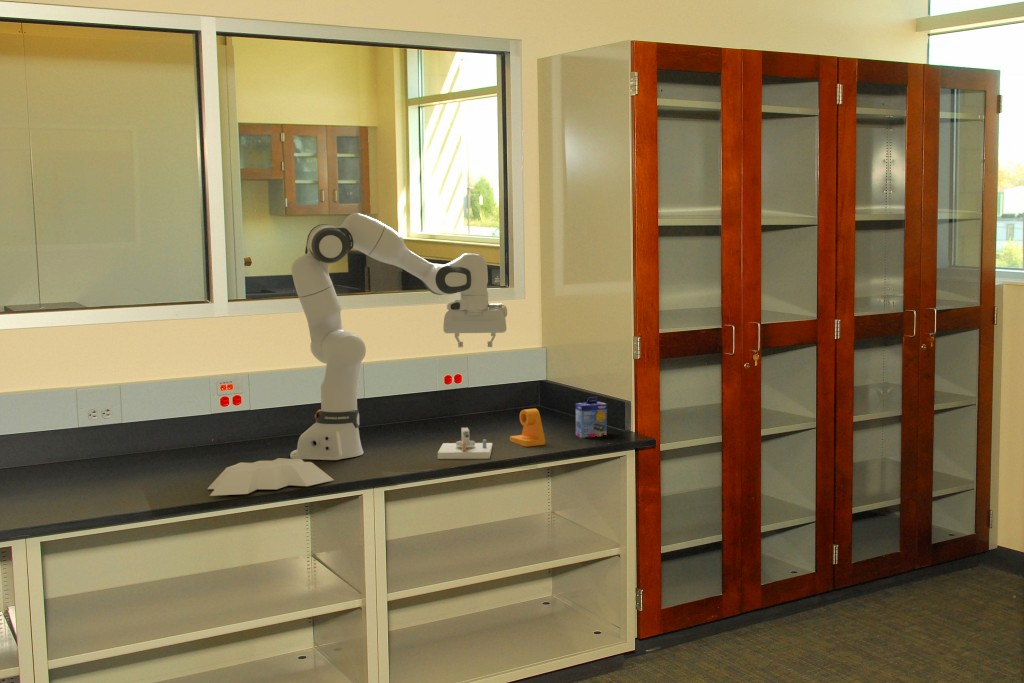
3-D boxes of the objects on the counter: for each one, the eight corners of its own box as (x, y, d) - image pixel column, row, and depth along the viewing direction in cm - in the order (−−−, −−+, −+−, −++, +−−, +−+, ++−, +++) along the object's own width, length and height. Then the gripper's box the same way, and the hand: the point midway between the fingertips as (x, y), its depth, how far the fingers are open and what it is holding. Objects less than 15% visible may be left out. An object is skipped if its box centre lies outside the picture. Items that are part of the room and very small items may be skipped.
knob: (455, 445, 327) (455, 427, 327) (474, 444, 328) (473, 427, 327) (457, 450, 317) (457, 433, 317) (476, 450, 318) (476, 432, 317)
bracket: (508, 444, 340) (508, 408, 339) (527, 442, 344) (526, 406, 343) (526, 449, 331) (525, 412, 330) (545, 446, 335) (544, 410, 334)
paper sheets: (314, 470, 305) (314, 451, 305) (338, 482, 288) (337, 462, 288) (195, 484, 288) (194, 465, 288) (212, 498, 271) (211, 477, 270)
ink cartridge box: (582, 441, 344) (581, 398, 342) (574, 438, 349) (574, 396, 347) (608, 438, 348) (607, 396, 346) (600, 436, 353) (599, 394, 351)
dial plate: (437, 459, 316) (437, 444, 316) (443, 449, 332) (442, 435, 332) (489, 458, 316) (489, 444, 315) (492, 449, 332) (492, 435, 331)
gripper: (507, 303, 331) (508, 345, 332) (444, 304, 332) (445, 346, 333) (506, 304, 325) (507, 347, 326) (442, 305, 325) (443, 348, 327)
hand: (475, 347), depth 329 cm, fingers open, 8 cm apart
